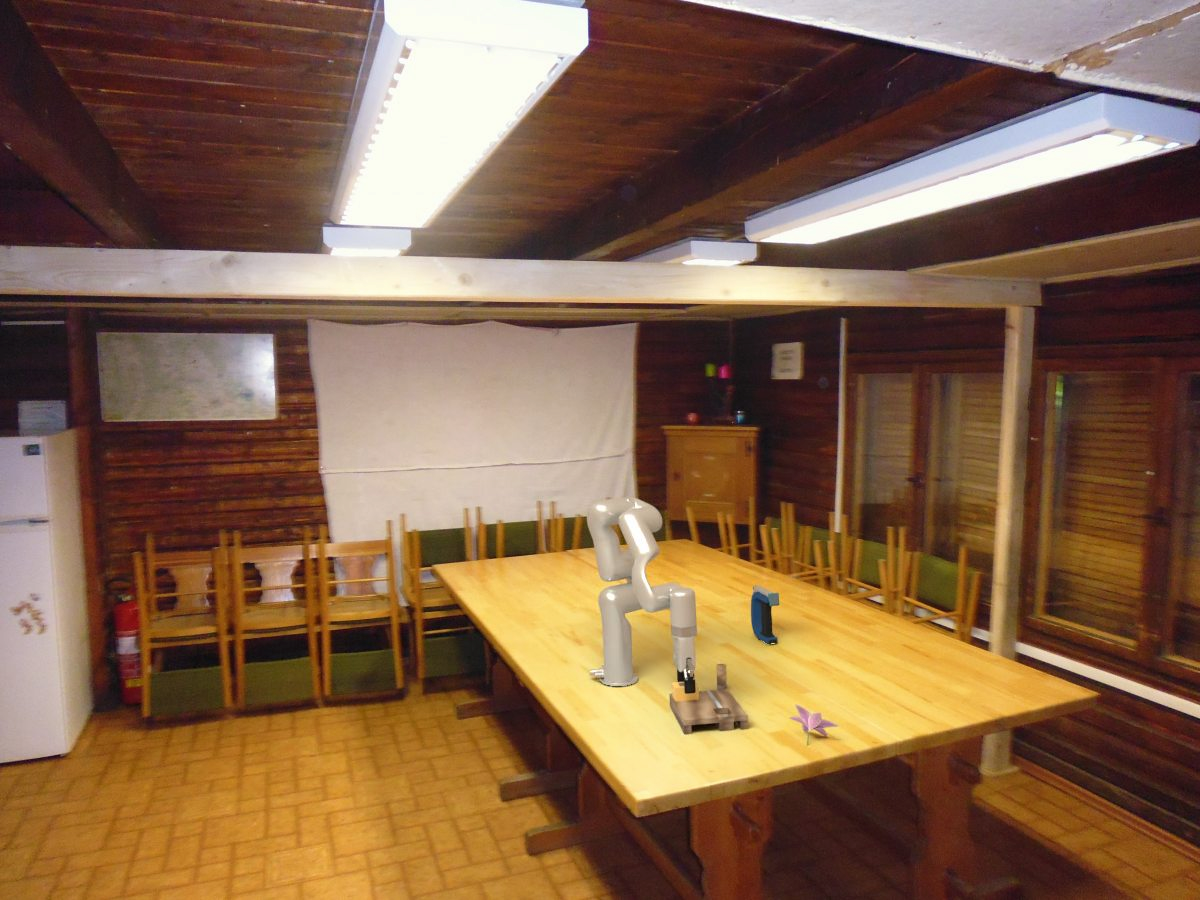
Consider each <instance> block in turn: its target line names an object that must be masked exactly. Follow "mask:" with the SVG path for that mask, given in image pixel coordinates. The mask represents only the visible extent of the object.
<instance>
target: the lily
mask: <svg viewBox="0 0 1200 900" xmlns="http://www.w3.org/2000/svg"><path fill="white" fill-rule="evenodd" d="M795 708H796V710H797V713H798V714H799V715H797V716H796V715H795V716H790V717H788V718H789V719H790V720H792V721H795V722H797V723H800V724H801V728H802V731H803V732H807V733H808V734H807V738H806V739H807V741H806V746H809V740H810V739H809V738H810V732H811V731H816V732H817V733H819V734H820V735H822V736H824V737H826V738H828V733H827V731H826V730H825V729H827V728H837V727H839V725H838V724H836V723H835V722H833V721H831V720H828V719H825V718H822V713H821V712H818V711H817V712H812V713H811V712H810V711H809V710H808V709H806V708H805V707H803V706H801V705H799V704H795Z"/></svg>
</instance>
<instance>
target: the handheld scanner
mask: <svg viewBox="0 0 1200 900" xmlns="http://www.w3.org/2000/svg"><path fill="white" fill-rule="evenodd" d="M751 595H752V596H751V598H750V599H751V600H750V618H751V619H750V621H751V622H750V623H751V628H752V632H753V634H754V636H755V637H757V638H759V639H760V640H762V641H764V642H765V643H767V644H771V643H777V644H778V637H777V636H776V635H774V634H773V617H772V607H776V606H777V607H778V606H780V594H779V592H773V591H771V590H769V589H767V588H766V587H763V586H761V585H753V587H752V594H751ZM757 638H756V639H757ZM759 639H758V640H759ZM760 640H759V641H760ZM762 641H761V642H762ZM765 643H764V644H765ZM767 644H766V645H767Z"/></svg>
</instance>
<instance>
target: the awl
mask: <svg viewBox="0 0 1200 900" xmlns="http://www.w3.org/2000/svg"><path fill="white" fill-rule="evenodd" d="M727 683H728V681H727V664H725V663H717V664H716V690H723V689H728V688H727V687H728V686H727V685H728V684H727Z"/></svg>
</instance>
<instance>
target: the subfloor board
mask: <svg viewBox="0 0 1200 900" xmlns="http://www.w3.org/2000/svg"><path fill="white" fill-rule="evenodd" d="M669 707H670V710H671V711H672V713H673V715H674V717H675V719H676V721H677V723H678V725H679V727H680V729H681V730H682V732H683V734H684V735H691V734H692V726H696V725H707V724H714V725H715V726H716V728H717V729H718V731H719V732H726V731H727V732H728V731H734V730H735V729H734V722H735V724H736V725H737V726H738V728H739V730H748V729H749V728H748V725H749V722H748V714H747V713H746V711H745V710H744V708H743V707H742V706H741V705H740V703H739V702H738V700H737V699H736V698H735V697H734V695H733V694H732V693H731V691H730V690H729V689H728V688H727V689H723V690H717V689H712V690H700V691H699V700H686V701H675V700H674V698H673V696H672V693H669Z"/></svg>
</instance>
